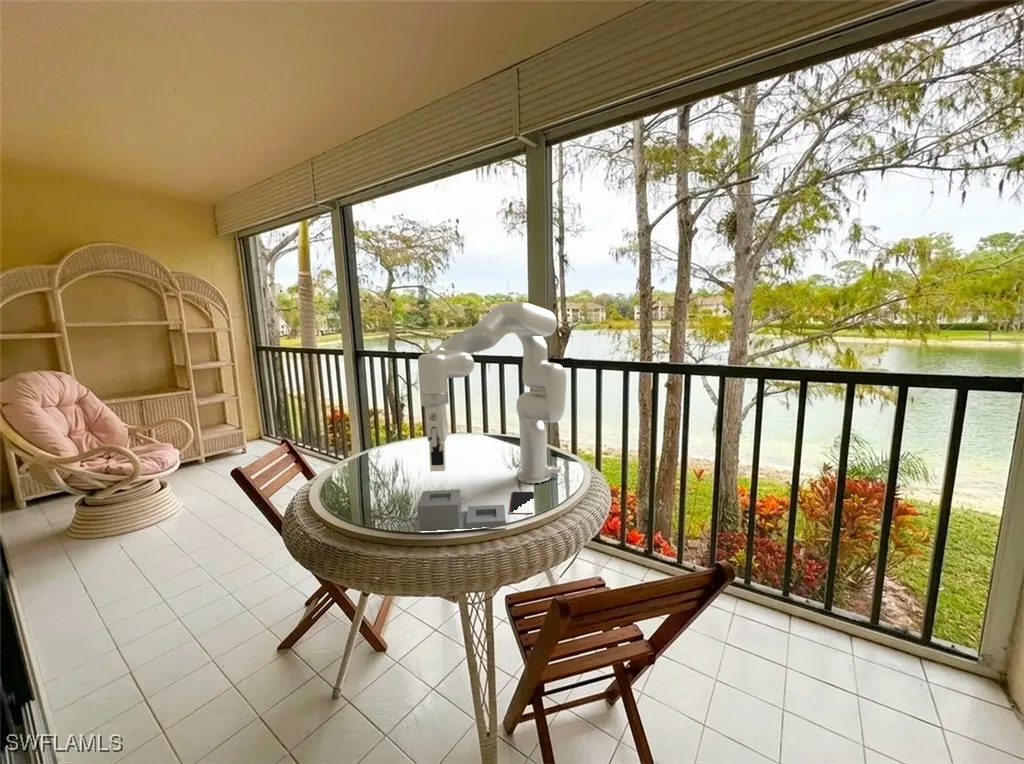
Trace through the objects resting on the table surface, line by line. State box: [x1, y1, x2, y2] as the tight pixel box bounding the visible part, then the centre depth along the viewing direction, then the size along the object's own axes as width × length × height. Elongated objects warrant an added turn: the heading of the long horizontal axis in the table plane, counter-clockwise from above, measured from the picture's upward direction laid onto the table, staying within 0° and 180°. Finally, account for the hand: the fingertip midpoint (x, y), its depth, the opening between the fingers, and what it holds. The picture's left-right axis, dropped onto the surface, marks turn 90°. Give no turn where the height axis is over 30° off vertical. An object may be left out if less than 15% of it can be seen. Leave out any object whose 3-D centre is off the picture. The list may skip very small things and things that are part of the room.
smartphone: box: [509, 491, 535, 513], centre depth 134 cm, size 7×1×15 cm
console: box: [417, 489, 507, 532], centre depth 121 cm, size 24×10×8 cm, turn 94°
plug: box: [428, 438, 447, 472], centre depth 118 cm, size 4×3×9 cm
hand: (438, 461), depth 119 cm, fingers closed on plug, 3 cm apart
